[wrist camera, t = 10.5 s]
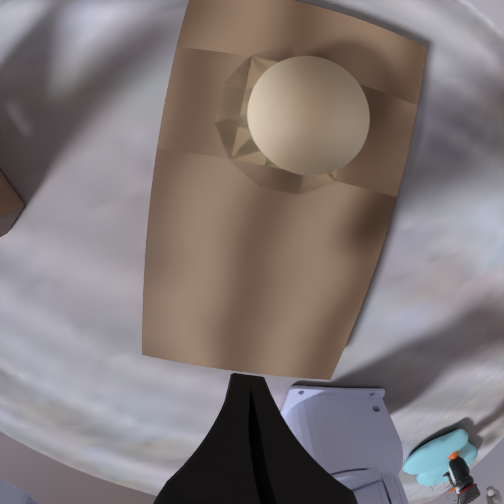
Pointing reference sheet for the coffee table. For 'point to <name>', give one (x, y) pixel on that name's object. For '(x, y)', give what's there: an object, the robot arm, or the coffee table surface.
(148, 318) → the board
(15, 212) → the wooden block
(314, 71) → the beige cylinder
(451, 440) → the penguin figurine
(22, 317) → the coffee table surface
